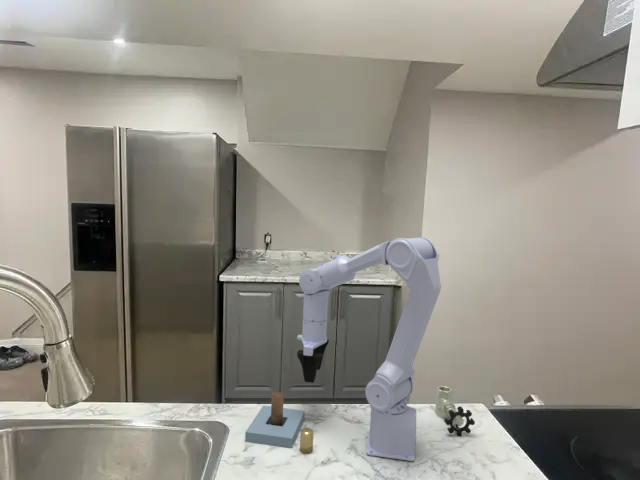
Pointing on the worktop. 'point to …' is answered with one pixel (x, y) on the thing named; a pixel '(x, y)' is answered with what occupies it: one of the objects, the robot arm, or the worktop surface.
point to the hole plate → (275, 428)
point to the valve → (451, 411)
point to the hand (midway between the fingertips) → (312, 375)
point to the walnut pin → (277, 409)
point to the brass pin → (306, 441)
